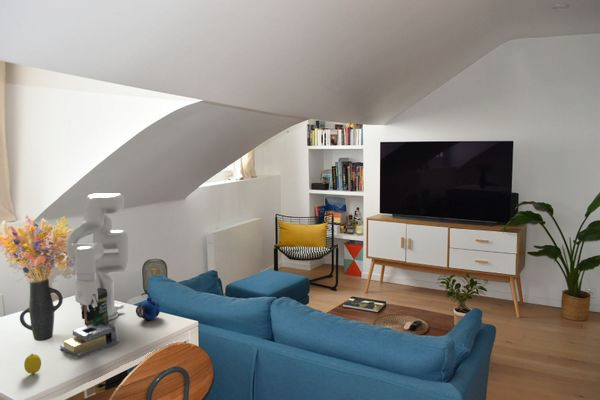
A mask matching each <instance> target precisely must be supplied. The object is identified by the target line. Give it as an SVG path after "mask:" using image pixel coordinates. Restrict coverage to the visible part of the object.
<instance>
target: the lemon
mask: <svg viewBox="0 0 600 400" xmlns="http://www.w3.org/2000/svg"><path fill="white" fill-rule="evenodd" d="M23 367H24V370H25V371H26V372H27V373H28V374H31V375H35V374H36V373H38V372H39V371H40V369H41V367H42V360H41V358H40V356H39V355H37V354H36V353H35V354H34V353H31V354H29V355H28V356H26V358H25V360H24V366H23Z"/></svg>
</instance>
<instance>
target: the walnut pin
mask: <svg viewBox="0 0 600 400" xmlns="http://www.w3.org/2000/svg"><path fill="white" fill-rule="evenodd" d="M90 306H92V305H90ZM86 312H87V306H86V305H84V319H83V320H84V321H83V322H84V326H86V325H91V324H92V320H90V321H87V314H86Z"/></svg>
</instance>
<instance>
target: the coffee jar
mask: <svg viewBox="0 0 600 400" xmlns="http://www.w3.org/2000/svg"><path fill="white" fill-rule="evenodd" d="M97 292H98V302H97V305H98V306H97V307H96V308H95V310H94V314H95V319H94V320H92V324H94V323H97V322H100V321H104V322H106V323H108V324H110V323H109V321H110V320H108V313H107V298H108V295H107V290H106V289H104V288H98V289H97ZM91 303H92V302H91ZM85 326H88V325H85Z"/></svg>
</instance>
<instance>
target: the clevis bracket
mask: <svg viewBox="0 0 600 400" xmlns="http://www.w3.org/2000/svg"><path fill="white" fill-rule="evenodd" d="M72 336H74V337H71V338H69V339H67V340H64V341H63V344H61V345H60V346H59V347H60V350H61V351H64V352H66V354H67V353H68V354H69V355H71V356H73V357H75V358H77V359H81V358H83V357H86V356H89V355H91V354H94V353H97V352H100V351H102V350H106V349H107V348H111V347H112V346H114V345H117V344H119V343H120V342H119V341H120V339H117V332H116V326H115V325H113V324H110V323H109V324H108V323H106V322H104V321H100V322H97V323H94V324H91V325H88V326H86V325H84V326H83V327H82V326H81V327H79V328H76V329H74V330H72Z"/></svg>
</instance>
